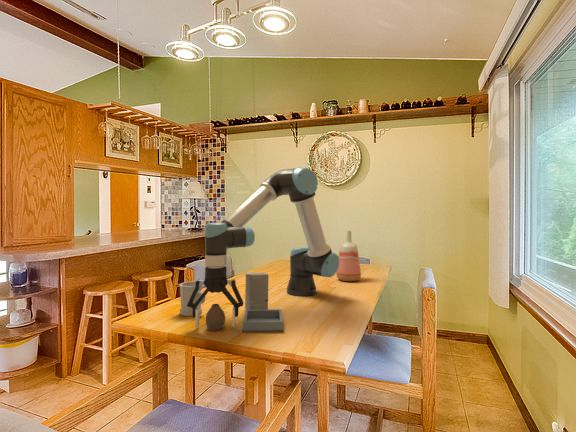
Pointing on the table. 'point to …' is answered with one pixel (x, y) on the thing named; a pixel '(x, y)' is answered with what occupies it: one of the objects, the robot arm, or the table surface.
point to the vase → (215, 318)
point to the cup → (185, 294)
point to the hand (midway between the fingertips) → (215, 325)
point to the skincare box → (256, 291)
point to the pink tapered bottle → (348, 261)
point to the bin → (263, 321)
